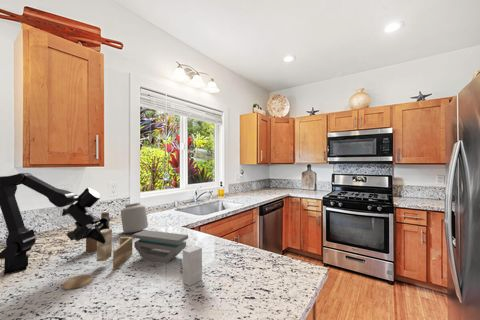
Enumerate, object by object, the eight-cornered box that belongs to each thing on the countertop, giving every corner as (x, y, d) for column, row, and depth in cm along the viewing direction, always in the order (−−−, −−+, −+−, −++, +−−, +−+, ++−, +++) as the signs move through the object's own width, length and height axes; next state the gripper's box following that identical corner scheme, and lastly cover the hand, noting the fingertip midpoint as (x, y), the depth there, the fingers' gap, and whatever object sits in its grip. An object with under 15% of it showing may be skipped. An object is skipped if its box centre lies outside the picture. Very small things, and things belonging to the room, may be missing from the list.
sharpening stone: (187, 258, 102) (188, 235, 102) (178, 266, 94) (178, 240, 94) (144, 251, 110) (144, 229, 110) (132, 258, 102) (132, 234, 102)
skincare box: (195, 276, 85) (195, 245, 86) (202, 279, 83) (202, 247, 83) (181, 282, 81) (182, 249, 81) (189, 286, 78) (189, 252, 78)
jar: (112, 233, 140) (113, 193, 141) (132, 227, 153) (133, 191, 154) (134, 237, 132) (134, 195, 133) (152, 230, 146) (153, 192, 146)
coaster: (63, 292, 74) (63, 290, 74) (60, 282, 80) (60, 280, 80) (95, 282, 80) (95, 281, 80) (90, 274, 87) (90, 272, 87)
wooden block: (85, 251, 110) (86, 215, 110) (105, 244, 120) (106, 211, 120) (90, 252, 108) (91, 216, 109) (110, 245, 118) (110, 211, 119)
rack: (100, 270, 90) (100, 250, 90) (120, 253, 107) (120, 237, 107) (115, 270, 90) (116, 250, 90) (133, 253, 107) (133, 236, 108)
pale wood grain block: (96, 261, 91) (97, 232, 92) (103, 256, 96) (103, 229, 97) (105, 261, 92) (105, 232, 92) (111, 256, 96) (111, 228, 97)
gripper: (80, 223, 102) (104, 247, 103) (50, 235, 84) (79, 263, 84) (99, 206, 103) (122, 229, 104) (73, 214, 85) (102, 242, 85)
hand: (107, 240), depth 94 cm, fingers closed on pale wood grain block, 5 cm apart
